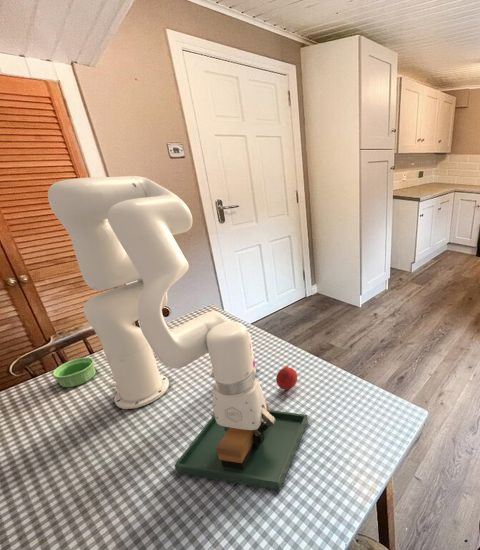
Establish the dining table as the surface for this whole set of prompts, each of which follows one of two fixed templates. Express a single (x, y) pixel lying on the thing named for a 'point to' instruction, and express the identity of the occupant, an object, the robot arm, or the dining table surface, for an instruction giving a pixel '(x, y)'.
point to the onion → (286, 378)
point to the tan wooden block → (236, 447)
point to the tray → (263, 462)
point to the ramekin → (75, 372)
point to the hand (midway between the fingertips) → (247, 440)
